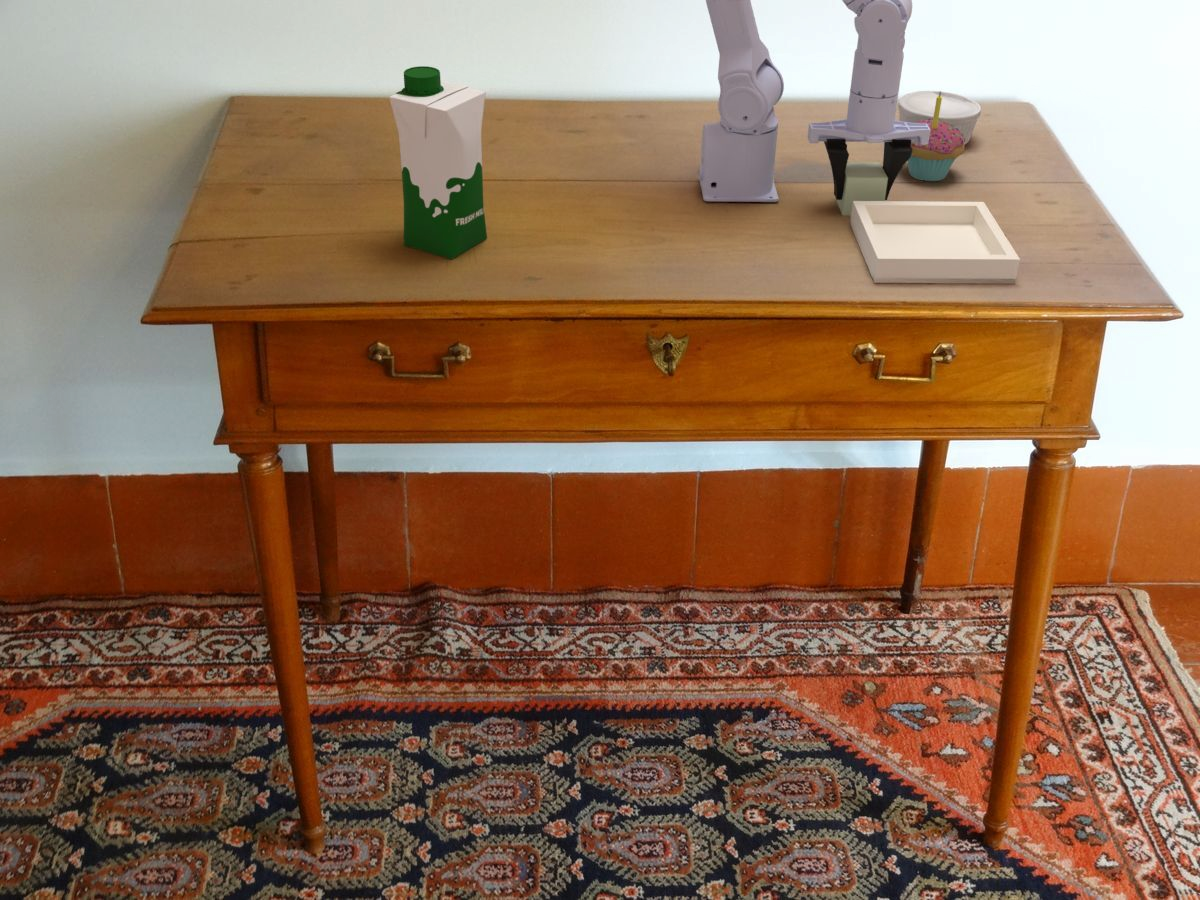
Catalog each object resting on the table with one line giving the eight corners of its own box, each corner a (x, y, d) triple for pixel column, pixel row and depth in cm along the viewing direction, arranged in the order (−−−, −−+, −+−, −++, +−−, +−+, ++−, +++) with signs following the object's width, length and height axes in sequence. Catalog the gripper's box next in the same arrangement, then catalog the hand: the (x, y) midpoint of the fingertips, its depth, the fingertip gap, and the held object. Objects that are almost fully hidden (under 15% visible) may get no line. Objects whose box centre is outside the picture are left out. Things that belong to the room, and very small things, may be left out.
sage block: (842, 215, 168) (847, 177, 165) (835, 199, 172) (840, 162, 169) (882, 215, 168) (887, 178, 165) (874, 199, 172) (880, 162, 169)
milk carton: (438, 220, 164) (429, 57, 153) (498, 238, 160) (494, 72, 149) (392, 246, 158) (379, 78, 147) (454, 265, 154) (446, 94, 143)
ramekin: (986, 136, 192) (992, 100, 189) (958, 160, 184) (964, 123, 181) (911, 120, 196) (917, 84, 194) (881, 143, 189) (886, 106, 186)
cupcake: (959, 189, 175) (975, 99, 168) (893, 183, 176) (906, 94, 170) (958, 165, 182) (973, 77, 175) (894, 159, 183) (907, 72, 177)
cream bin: (874, 282, 152) (877, 258, 150) (850, 223, 165) (852, 200, 164) (1015, 283, 153) (1020, 259, 151) (979, 224, 166) (983, 201, 164)
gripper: (819, 101, 158) (807, 209, 165) (942, 102, 158) (924, 210, 166) (810, 81, 164) (799, 186, 171) (928, 82, 164) (912, 187, 172)
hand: (860, 196), depth 169 cm, fingers closed on sage block, 5 cm apart
